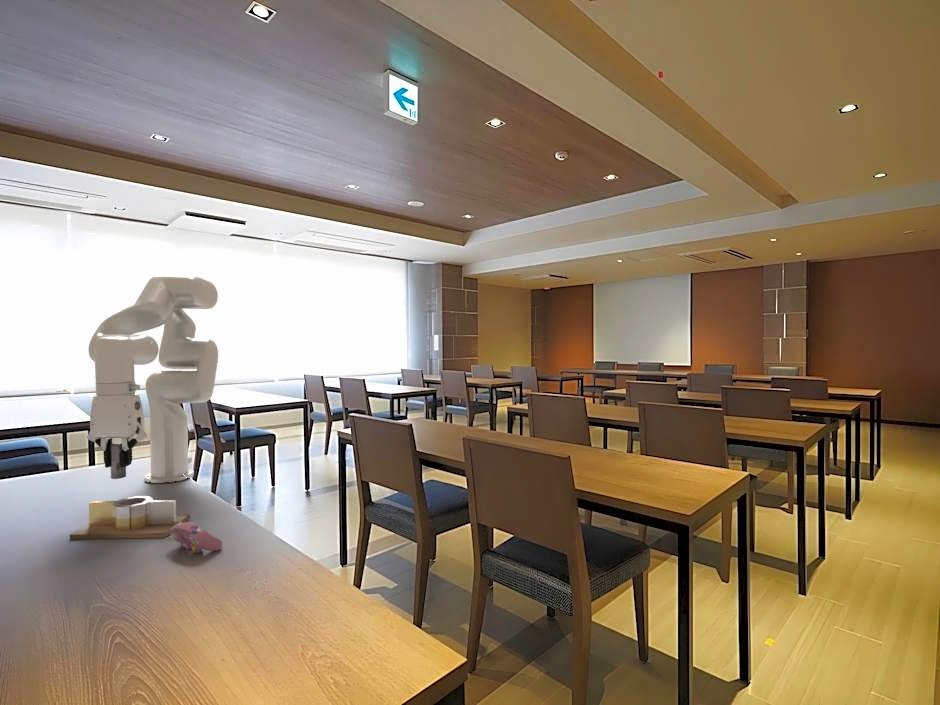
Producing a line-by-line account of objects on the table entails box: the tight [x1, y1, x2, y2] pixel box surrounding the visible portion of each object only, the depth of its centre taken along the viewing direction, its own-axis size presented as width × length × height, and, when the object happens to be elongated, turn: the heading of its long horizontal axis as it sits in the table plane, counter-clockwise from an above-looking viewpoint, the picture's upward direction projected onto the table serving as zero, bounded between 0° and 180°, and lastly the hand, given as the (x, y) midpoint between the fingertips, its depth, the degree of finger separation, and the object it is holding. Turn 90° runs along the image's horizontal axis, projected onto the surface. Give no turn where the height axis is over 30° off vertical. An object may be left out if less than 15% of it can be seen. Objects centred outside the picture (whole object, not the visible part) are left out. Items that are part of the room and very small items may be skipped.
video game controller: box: [169, 521, 223, 554], centre depth 100 cm, size 10×5×7 cm, turn 63°
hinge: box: [88, 495, 177, 530], centre depth 111 cm, size 7×18×5 cm, turn 94°
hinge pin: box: [109, 441, 127, 480], centre depth 120 cm, size 3×3×8 cm
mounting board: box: [69, 513, 191, 540], centre depth 111 cm, size 11×19×1 cm, turn 94°
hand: (118, 465), depth 120 cm, fingers closed on hinge pin, 2 cm apart
